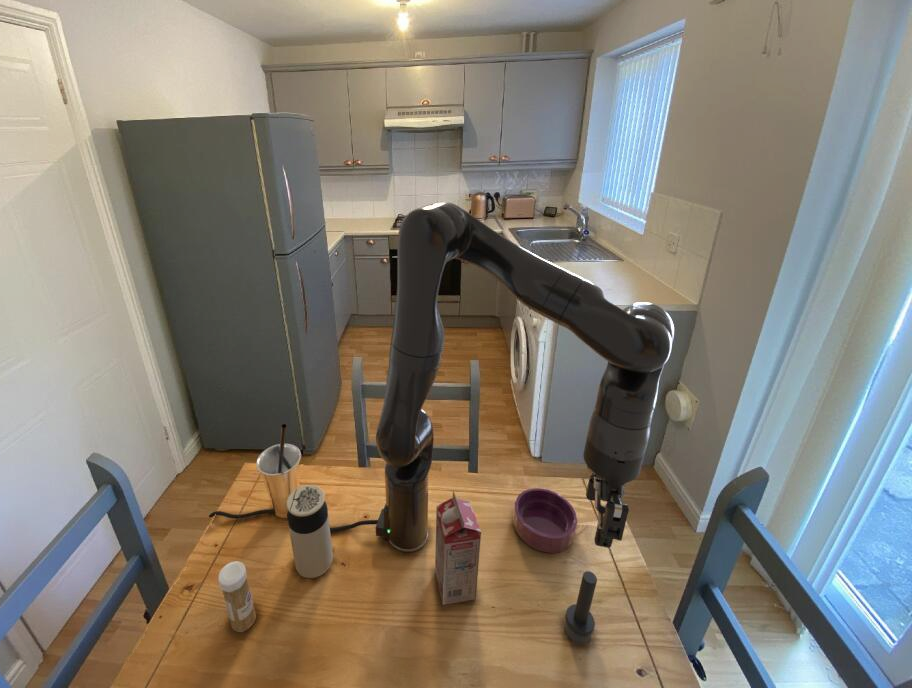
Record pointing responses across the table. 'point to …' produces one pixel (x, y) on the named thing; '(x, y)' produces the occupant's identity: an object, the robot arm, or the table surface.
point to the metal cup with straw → (280, 472)
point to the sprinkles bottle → (237, 596)
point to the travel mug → (309, 531)
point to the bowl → (544, 520)
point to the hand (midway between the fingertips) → (597, 520)
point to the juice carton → (457, 550)
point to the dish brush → (582, 611)
